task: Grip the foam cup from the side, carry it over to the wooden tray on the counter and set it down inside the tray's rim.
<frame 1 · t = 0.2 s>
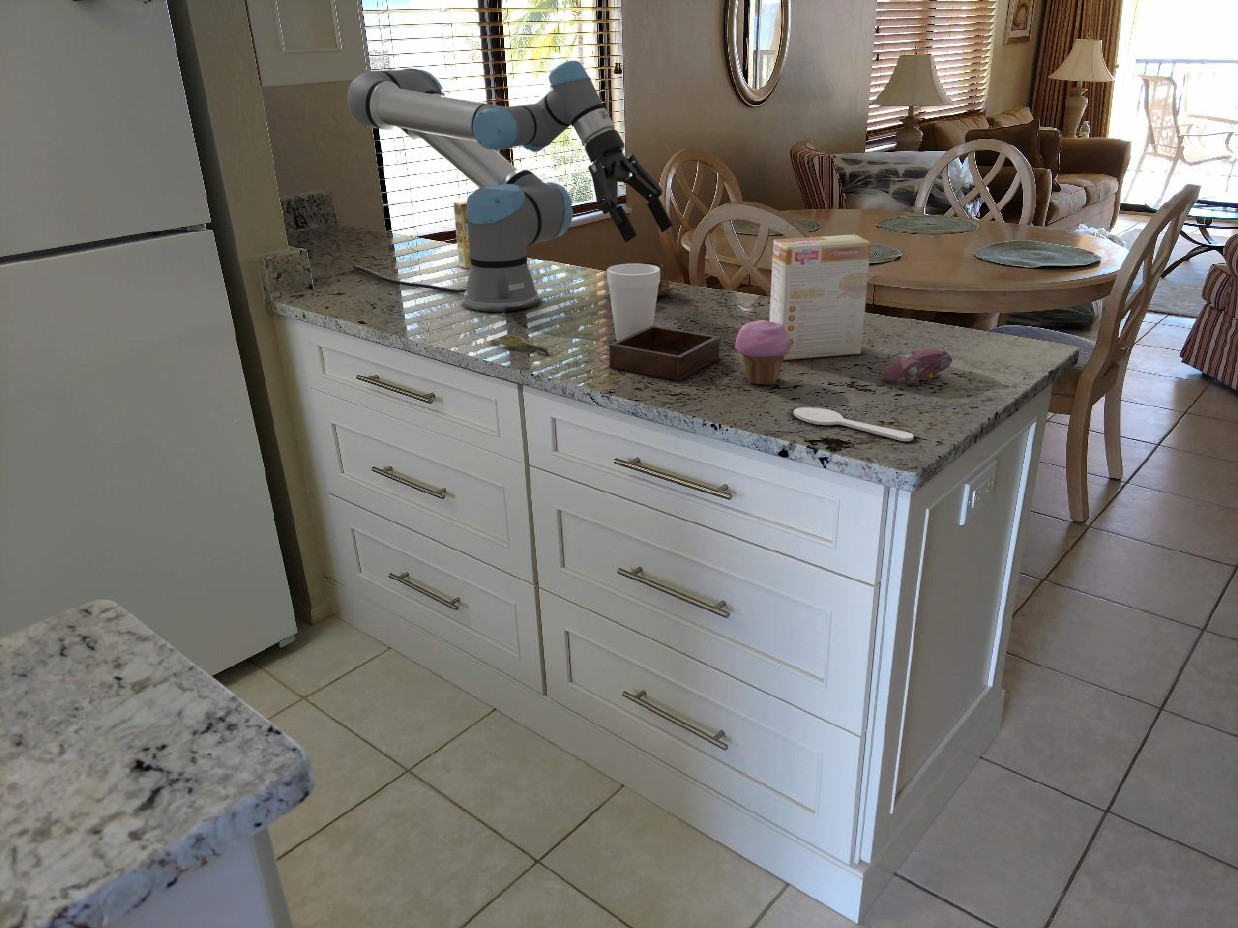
hand: (649, 234, 190), 15 cm above the counter, tool tilted 35°, fingers open, 13 cm apart
coffeecake box: (813, 353, 168), on the counter
foam cup: (633, 340, 176), on the counter
wooden tray: (664, 363, 163), on the counter
candy box: (478, 266, 236), on the counter
olive green tapered piece: (522, 349, 172), on the counter
cup and saucer: (645, 295, 207), on the counter
cupcake: (761, 382, 154), on the counter
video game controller: (916, 382, 153), on the counter
spoon: (851, 426, 136), on the counter
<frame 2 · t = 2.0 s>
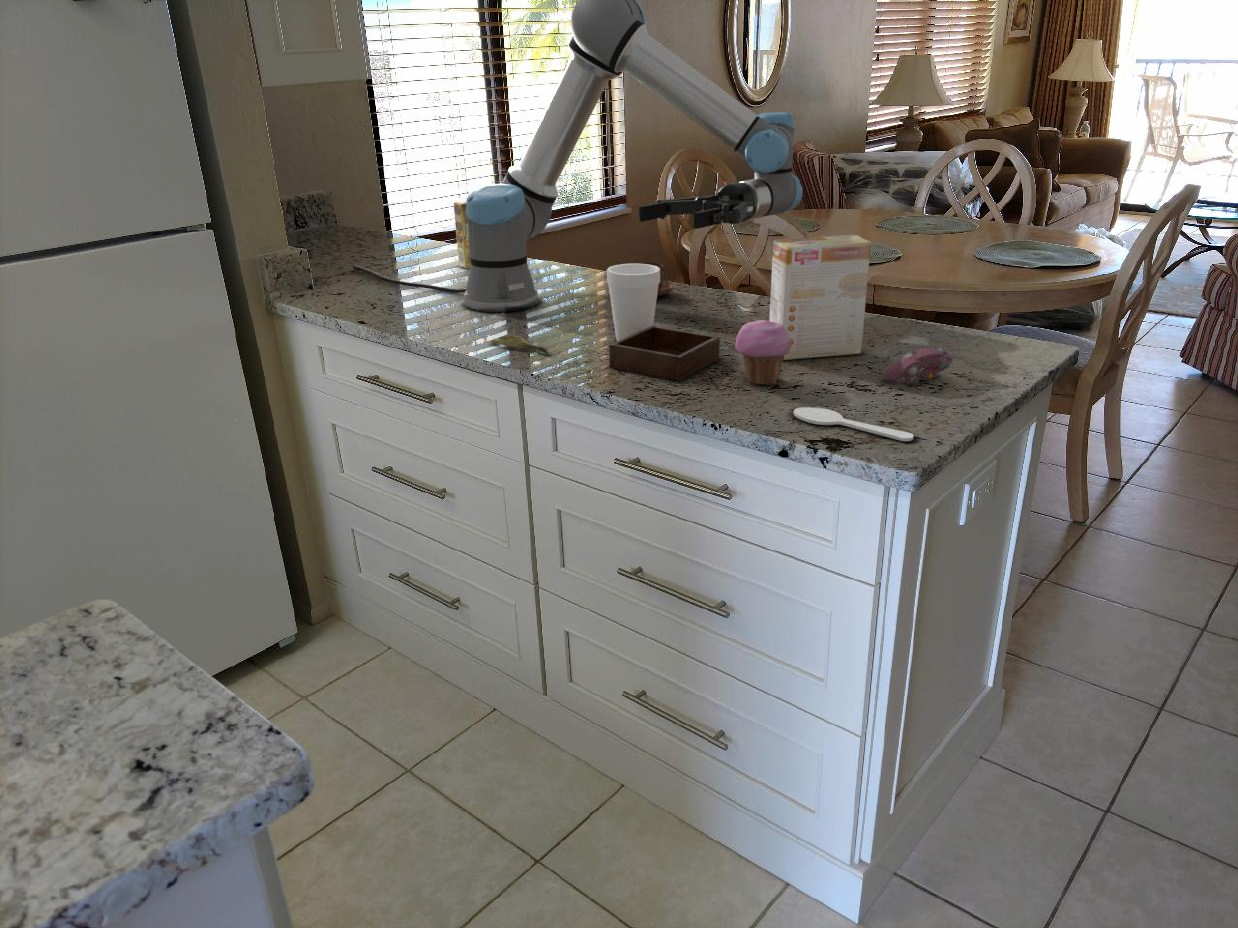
hand: (667, 217, 173), 21 cm above the counter, tool horizontal, fingers open, 13 cm apart
nothing on the counter moved.
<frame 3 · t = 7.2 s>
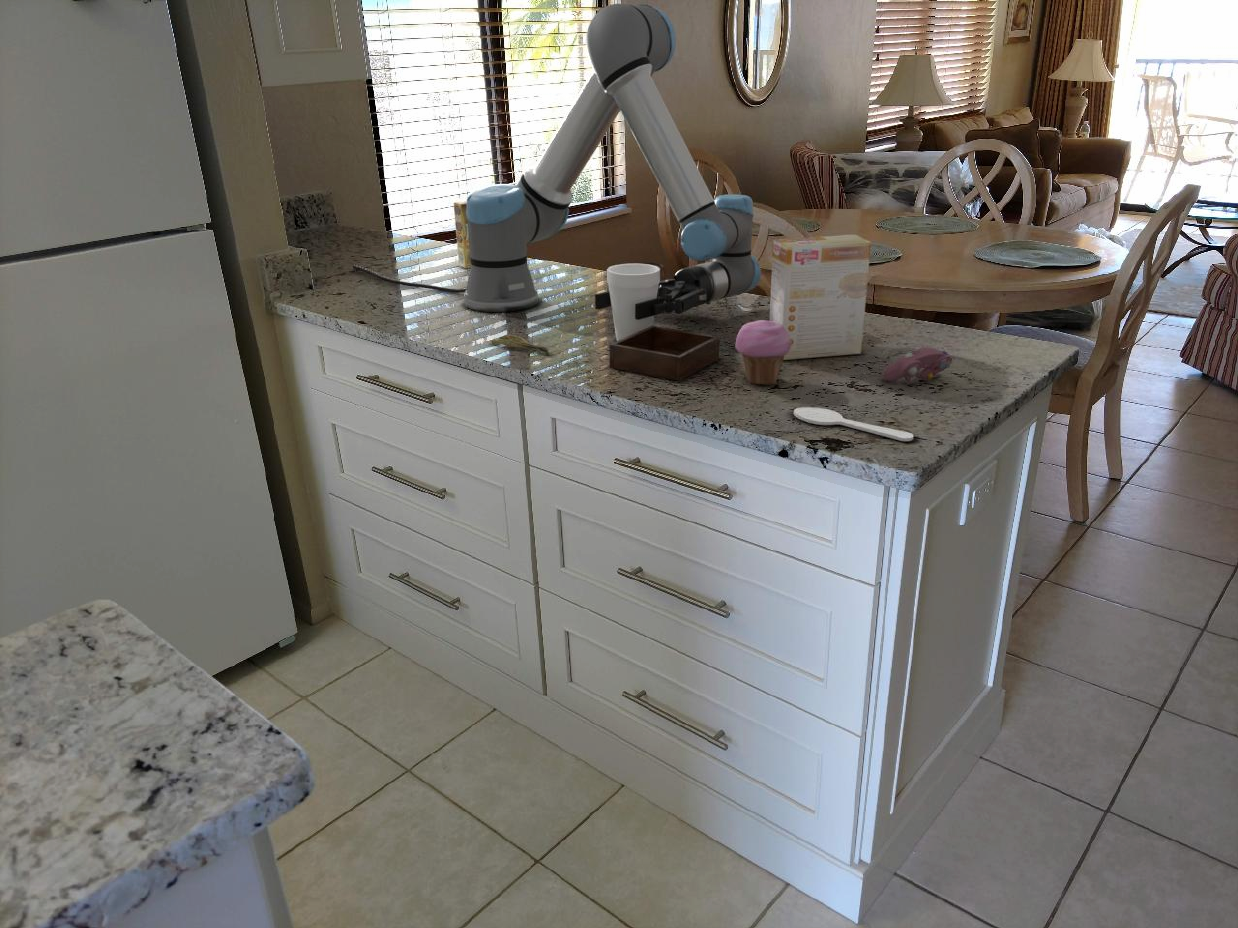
hand: (616, 307, 170), 7 cm above the counter, tool horizontal, fingers closed on foam cup, 9 cm apart
foam cup: (633, 340, 176), on the counter, touching gripper
everything else where it was.
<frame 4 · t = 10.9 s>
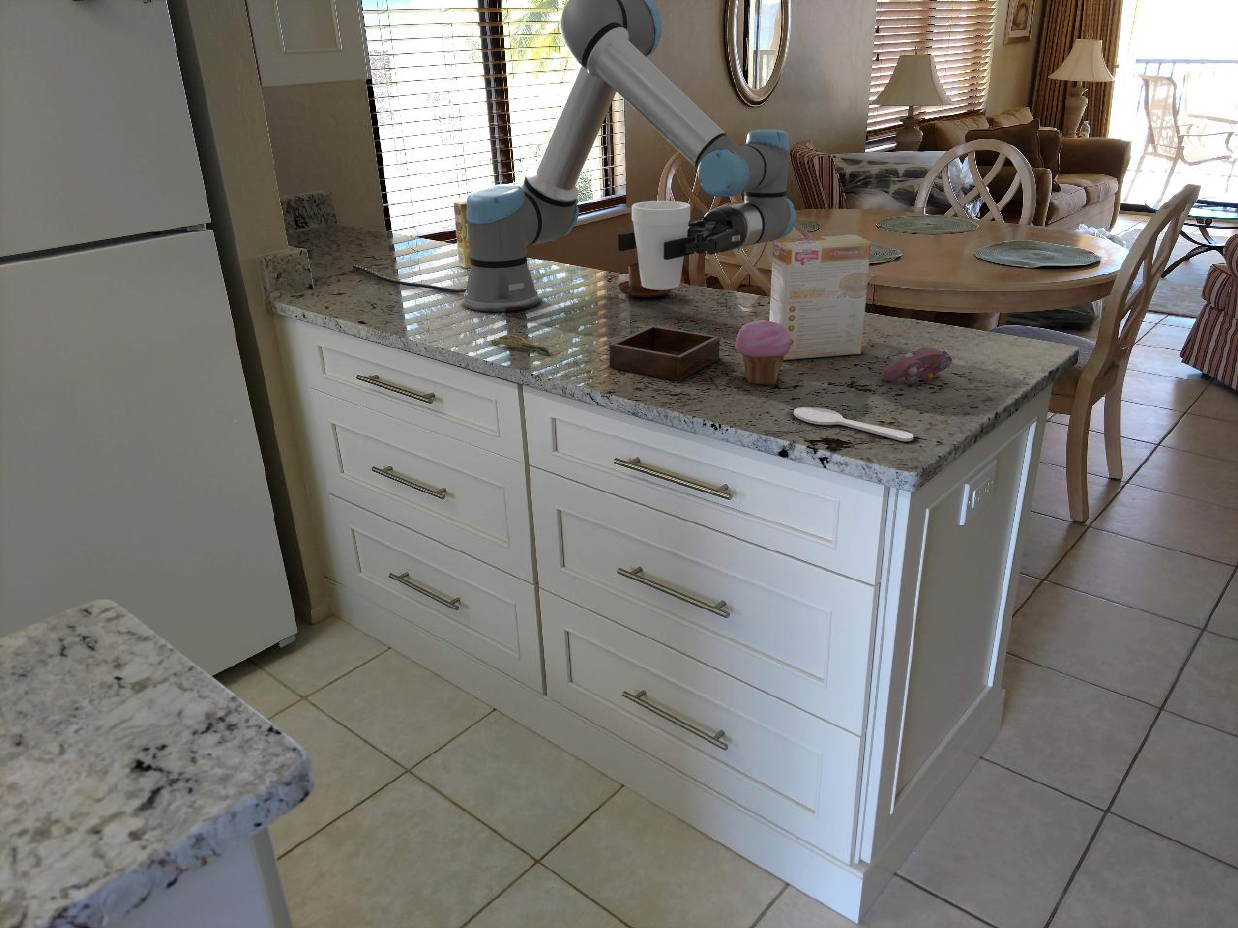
hand: (642, 246, 154), 20 cm above the counter, tool horizontal, fingers closed on foam cup, 9 cm apart
foam cup: (660, 286, 160), point 13 cm above the counter, touching gripper
everything else where it was.
when the fingers open (7 cm above the counter, at t = 15.0 s): foam cup stays where it is, resting on wooden tray.
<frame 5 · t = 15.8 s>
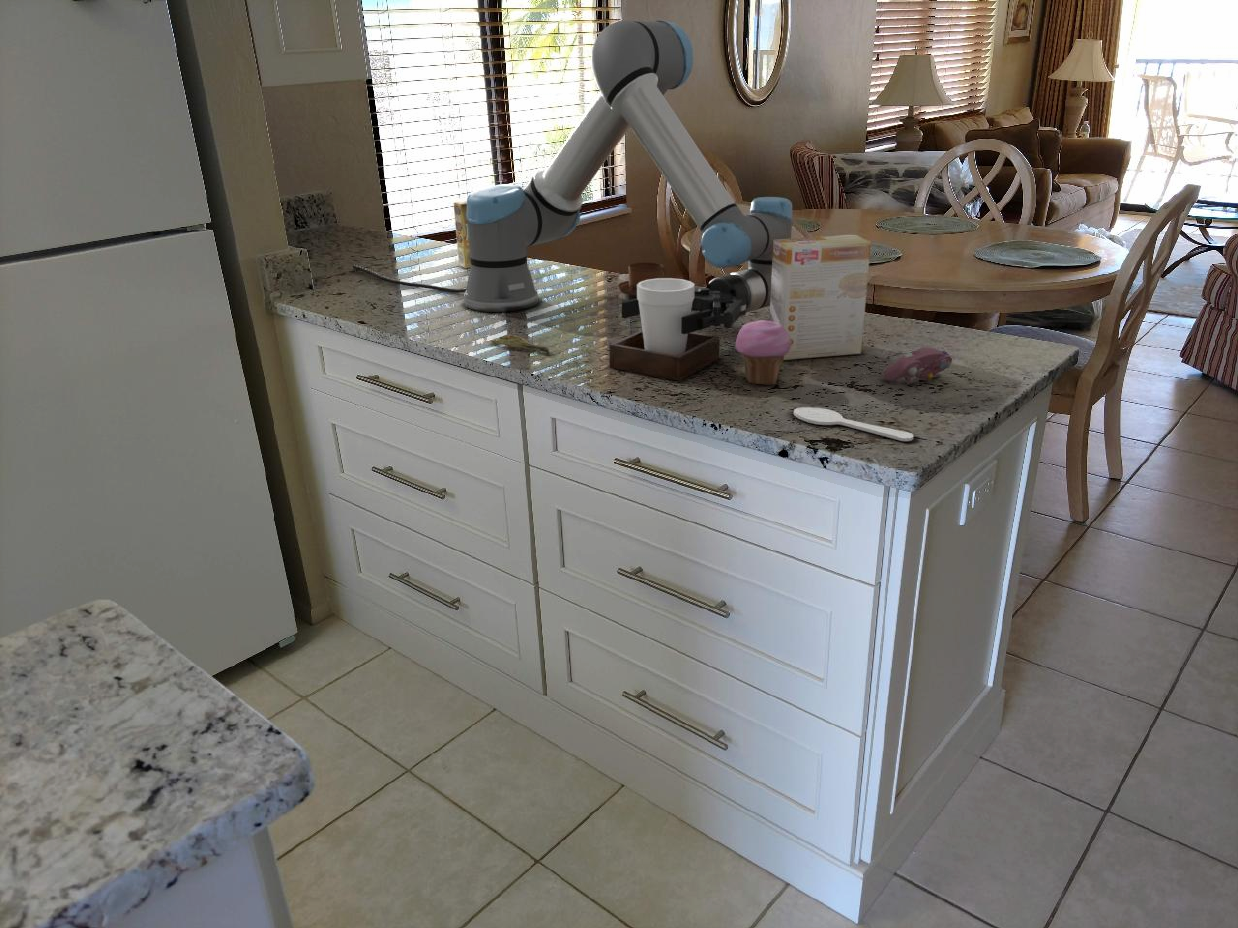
hand: (652, 318, 157), 9 cm above the counter, tool horizontal, fingers open, 13 cm apart
foam cup: (665, 361, 163), resting on wooden tray
everything else where it was.
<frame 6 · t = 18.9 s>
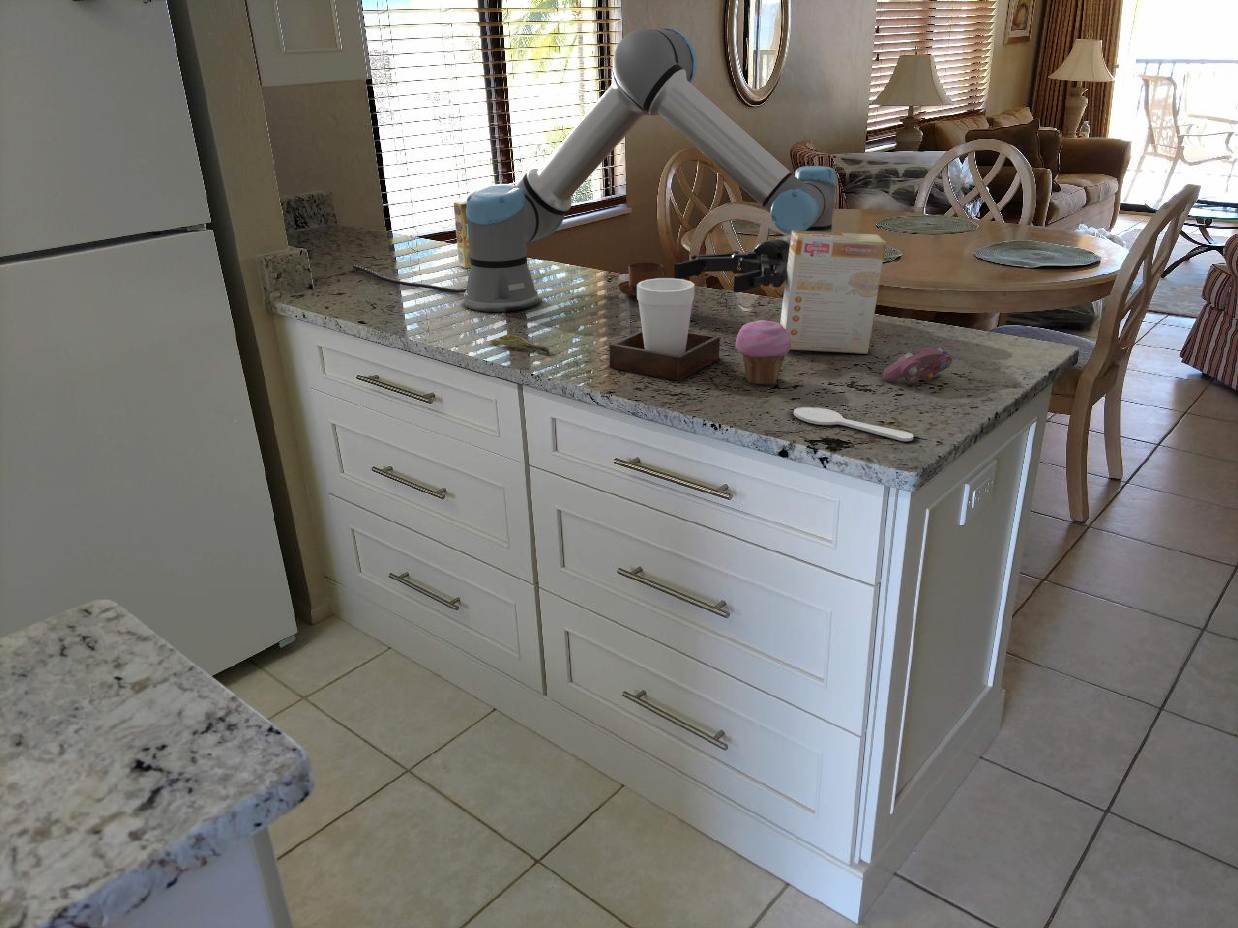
hand: (704, 278, 165), 13 cm above the counter, tool horizontal, fingers open, 13 cm apart
coffeecake box: (821, 347, 169), on the counter
everything else where it was.
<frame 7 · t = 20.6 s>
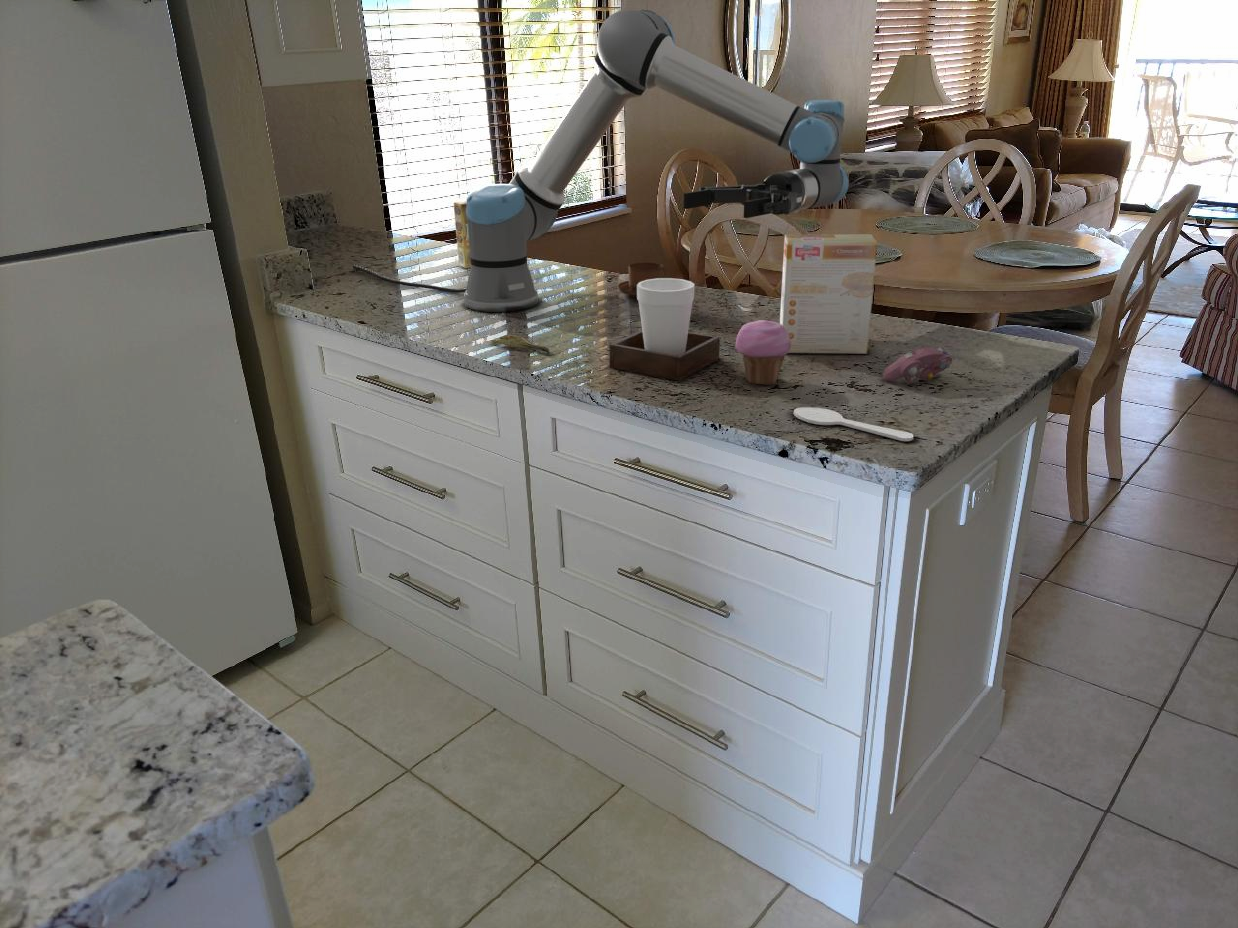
hand: (714, 205, 166), 24 cm above the counter, tool horizontal, fingers open, 13 cm apart
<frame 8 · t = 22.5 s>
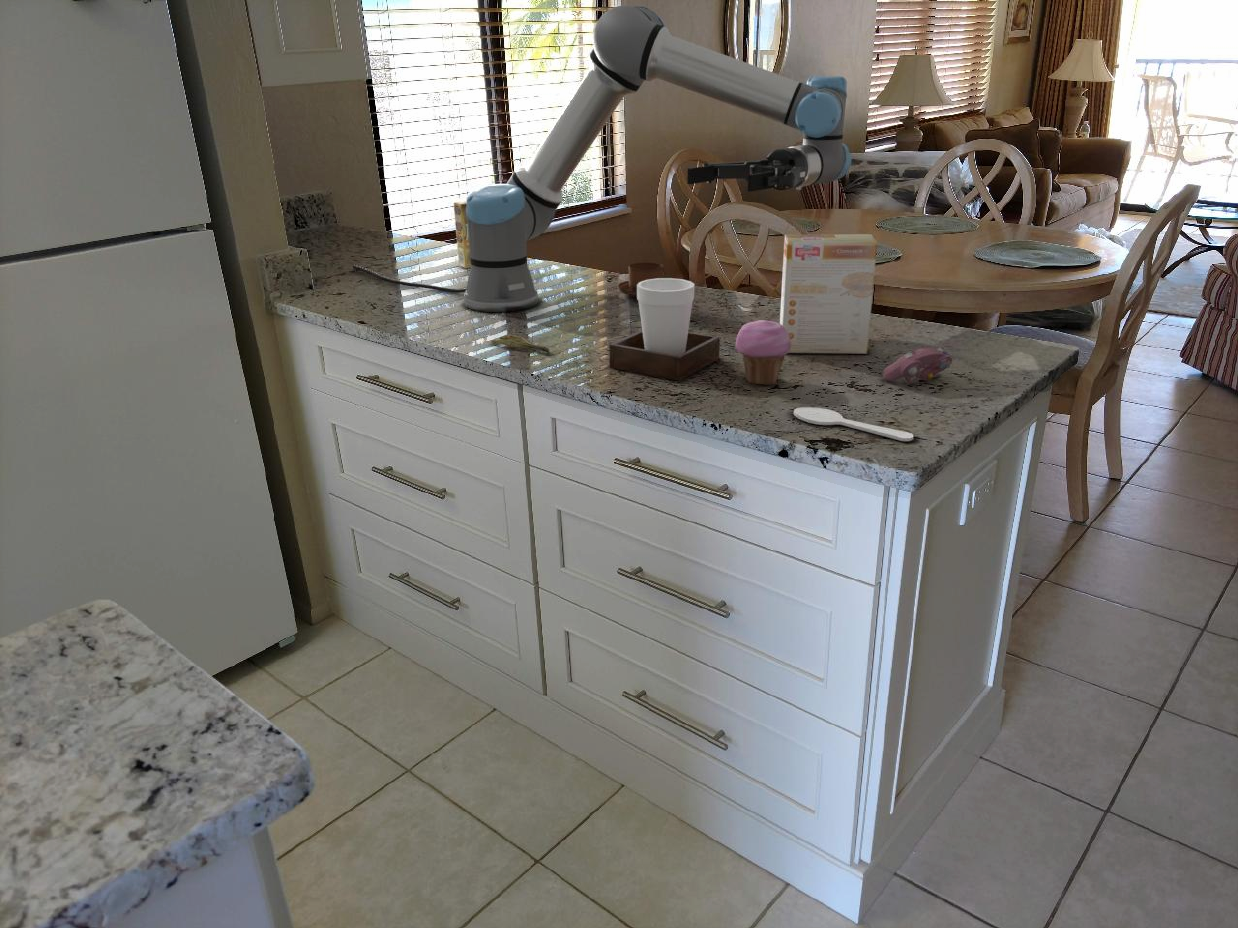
hand: (718, 179, 166), 28 cm above the counter, tool horizontal, fingers open, 13 cm apart
nothing on the counter moved.
at the end: foam cup 0.0 cm off-centre in the wooden tray, point 0.3 cm above the wooden tray's base; foam cup tilted 0°; the gripper is holding nothing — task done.
